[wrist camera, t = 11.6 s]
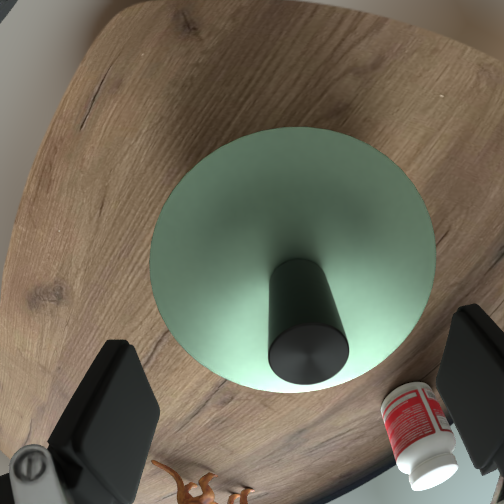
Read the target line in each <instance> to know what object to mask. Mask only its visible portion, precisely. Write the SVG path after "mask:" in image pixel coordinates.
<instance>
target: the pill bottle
mask: <svg viewBox="0 0 504 504" xmlns="http://www.w3.org/2000/svg"><path fill="white" fill-rule="evenodd" d="M381 413H382V417H383V420H384V423H385V427H386V430H387V433H388V436H389V439H390V443H391V446H392V449H393V453H394V456H395V460H396V463H397V465H398V468H399V469H400V470H401V471H402V472H404V473H407V474H409V481H410V484H411V487H412V489H413V490H425V489H428V488H431V487H434V486H436V485H438V484H440V483H442V482H444V481H445V480H447V479H448V478H449V477H451V476H452V475H453V474H454V473H455V472H456V470H457V469H458V464H457V461H456V459H455V456H454V455H453V454H452V452H453V450H454V448H455V444H456V440H455V437H454V434H453V432H452V430H451V428H450V426H449V424H448V422H447V420H446V418H445V415H444V413H443V411H442V409H441V407H440V405H439V403H438V401H437V399H436V397H435V395H434V393H433V391H432V389H431V388H430V386H429V385H427V384H426V383H423V382H411V383H407V384H404V385H402V386H400V387H398V388H396V389H395V390H393V391H392V392H391V393H390V394H389V395H388V396H387V397H386V398H385V400H384V401H383V403H382V406H381Z"/></svg>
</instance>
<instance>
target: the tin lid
mask: <svg viewBox="0 0 504 504" xmlns="http://www.w3.org/2000/svg"><path fill="white" fill-rule="evenodd" d="M149 263H150V280H151V285H152V290H153V295H154V298H155V301H156V304H157V307H158V310H159V312H160V314H161V316H162V318H163V320H164V322H165V324H166V326H167V328H168V329H169V330H170V332H171V333H172V335H173V336H174V338H175V339H176V340H177V342H178V343H179V344H180V345H181V346H182V347H183V348H184V349H185V351H186V352H187V353H189V354H190V355H191V356H192V357H193V358H194V359H195V360H197V361H198V362H199V363H200V364H202V365H203V366H205V367H206V368H208V369H209V370H210V371H212V372H214V373H216V374H218V375H219V376H221V377H223V378H225V379H227V380H230V381H232V382H235V383H237V384H240V385H243V386H247V387H250V388H254V389H259V390H265V391H271V392H286V393H289V392H306V391H313V390H320V389H324V388H328V387H332V386H335V385H338V384H341V383H344V382H346V381H349V380H351V379H353V378H355V377H357V376H359V375H361V374H363V373H365V372H367V371H368V370H370V369H372V368H373V367H375V366H376V365H378V364H379V363H380V362H382V361H383V360H384V359H385V358H387V357H388V356H389V355H390V354H391V353H392V352H394V351H395V350H396V349H397V348H398V347H399V346H400V345H401V344H402V342H403V341H404V340H405V339H406V337H407V336H408V335H409V334H410V332H411V331H412V330H413V328H414V327H415V325H416V323H417V322H418V320H419V319H420V317H421V315H422V313H423V311H424V308H425V306H426V304H427V302H428V299H429V296H430V293H431V289H432V286H433V281H434V275H435V269H436V244H435V235H434V231H433V227H432V222H431V219H430V216H429V213H428V211H427V208H426V206H425V203H424V201H423V199H422V197H421V196H420V194H419V192H418V191H417V189H416V187H415V186H414V184H413V183H412V182H411V180H410V179H409V178H408V177H407V176H406V174H405V173H404V172H403V171H402V169H400V168H399V167H398V166H397V165H396V164H395V163H394V162H393V161H392V160H390V159H389V158H388V157H387V156H386V155H384V154H383V153H381V152H380V151H378V150H377V149H375V148H374V147H372V146H371V145H369V144H367V143H365V142H363V141H360V140H358V139H356V138H354V137H352V136H349V135H346V134H342V133H339V132H335V131H332V130H327V129H320V128H313V127H281V128H275V129H269V130H263V131H259V132H256V133H253V134H249V135H246V136H243V137H240V138H238V139H236V140H234V141H232V142H230V143H228V144H225V145H223V146H221V147H220V148H218V149H217V150H215V151H214V152H212V153H211V154H209V155H208V156H206V157H205V158H203V159H202V160H201V161H200V162H198V163H197V164H196V165H195V166H194V167H193V168H192V169H191V170H190V171H189V172H188V173H186V175H185V176H184V177H183V178H182V179H181V181H180V182H179V183H178V184H177V186H176V187H175V188H174V189H173V191H172V192H171V194H170V196H169V197H168V199H167V201H166V203H165V204H164V206H163V208H162V210H161V213H160V215H159V218H158V220H157V222H156V225H155V229H154V233H153V237H152V241H151V249H150V260H149Z"/></svg>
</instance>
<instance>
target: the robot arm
mask: <svg viewBox="0 0 504 504" xmlns="http://www.w3.org/2000/svg"><path fill="white" fill-rule="evenodd" d="M436 387H437V390H438V392H439V394H440V396H441V398H442V400H443V402H444V404H445V406H446V407H447V409H448V412H449V414H450V416H451V418H452V420H453V422H454V424H455V426H456V428H457V430H458V432H459V434H460V436H461V439H462V440H463V443H464V445H465V447H466V449H467V452H468V454H469V456H470V458H471V461H472V463H473V465H474V467H475V468H476V469H480V472H481V474H482V476H483V475H486V474H488V473H490V472H492V471H494V470H496V469H497V468H498V470H499V472H500V476H499V480H498V483H497V486H496V489H495V492H494V495H493V498H492V501H491V503H490V504H504V332H503V331H502V330H501V329H500V328H499V327H498V326H497V325H496V323H495V322H494V321H493V320H492V319H491V318H490V317H489V316H488V315H487V314H486V313H485V312H484V310H483V309H482V308H481V307H480V306H479V305H477V304H470V305H465V306H461V307H459V308H458V309H457V312H456V313H454V314H453V317H452V321H451V325H450V330H449V334H448V338H447V342H446V346H445V349H444V353H443V357H442V360H441V364H440V367H439V370H438V374H437V377H436ZM159 416H160V408H159V405H158V402H157V400H156V398H155V396H154V393H153V391H152V389H151V387H150V384H149V382H148V380H147V377H146V375H145V372H144V370H143V368H142V365H141V363H140V360H139V358H138V355H137V353H136V350H135V348H134V346H133V345H129V343H128V341H127V340H107V341H106V342H105V344H104V345H103V347H102V348H101V350H100V352H99V353H98V355H97V356H96V358H95V360H94V361H93V363H92V365H91V366H90V368H89V369H88V371H87V373H86V374H85V376H84V378H83V379H82V381H81V383H80V384H79V386H78V388H77V390H76V391H75V393H74V395H73V396H72V398H71V400H70V402H69V403H68V405H67V407H66V409H65V410H64V412H63V414H62V416H61V417H60V419H59V421H58V423H57V425H56V426H55V428H54V430H53V432H52V434H51V436H50V437H49V439H48V441H47V442H48V443H49V446H48V448H47V449H46V448H45V447H43V446H41V445H37V444H31V445H26V446H24V447H22V448H20V449H19V450H18V451H17V452H16V453H15V454H14V455H13V457H12V458H11V461H10V464H9V473H7V474H4V475H2V476H0V504H132V503H133V502H134V500H135V497H136V493H137V490H138V486H139V483H140V479H141V476H142V472H143V469H144V466H145V462H146V459H147V456H148V452H149V449H150V446H151V442H152V439H153V436H154V433H155V429H156V426H157V423H158V420H159Z"/></svg>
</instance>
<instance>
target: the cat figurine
mask: <svg viewBox="0 0 504 504" xmlns="http://www.w3.org/2000/svg"><path fill="white" fill-rule="evenodd" d="M151 462H152V463H153V464H154V465H156V466H158V467H159V468H161V469H163V470H165V471H167V472H168V473H169V474H171V475H172V476H173V477H174V479H175V480H176V482H177V488H178V491H177V502H178V504H218V503H216V502H214V498H215V496H214V493H213V490H212V489H211V488H210V486H209V485H208V482H209V481H210V480H211V479H212V478H213V477H218V476H217V475H215V474H213V473H210V472H209V473H208V474H206V475H204V476H203V477H202V478H201V479H200V480H199V485H200V487H201V489H202V492H203V494H202V495H200V496H197V497H194V498H193V497H192V496H191V495H190V494H189V493H188V492H189V490H190V489H191V488H192V487H195V488H196V487H197V484H195V483H193V482H190V483H189V484H187V485H185V486H184V483H183V481H182V479H181V477H180V476H179V474H178V473H177V472H176V471H174V470H173V469H171V468H170V467H168V466H166V465H164V464H161V463H159V462H157V461H155V460H151ZM254 491H255V490H253V489H244V490H242V491H241V495H239V494H233V495H231V496H230V497H229V499H228V504H233V502H234V500H235V499H236V498H240V504H248V503H247V495H248V494H249V493H250V492H254Z"/></svg>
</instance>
